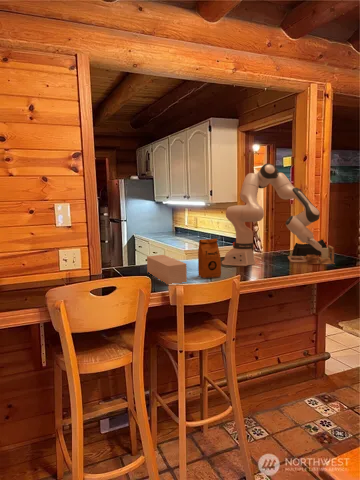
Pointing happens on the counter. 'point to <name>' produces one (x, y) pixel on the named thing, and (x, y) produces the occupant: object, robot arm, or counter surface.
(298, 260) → the tray
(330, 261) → the rack
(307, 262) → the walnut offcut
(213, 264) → the coffee package
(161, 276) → the pinkish brown block
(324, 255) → the board
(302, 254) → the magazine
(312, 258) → the oak offcut
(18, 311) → the counter surface
